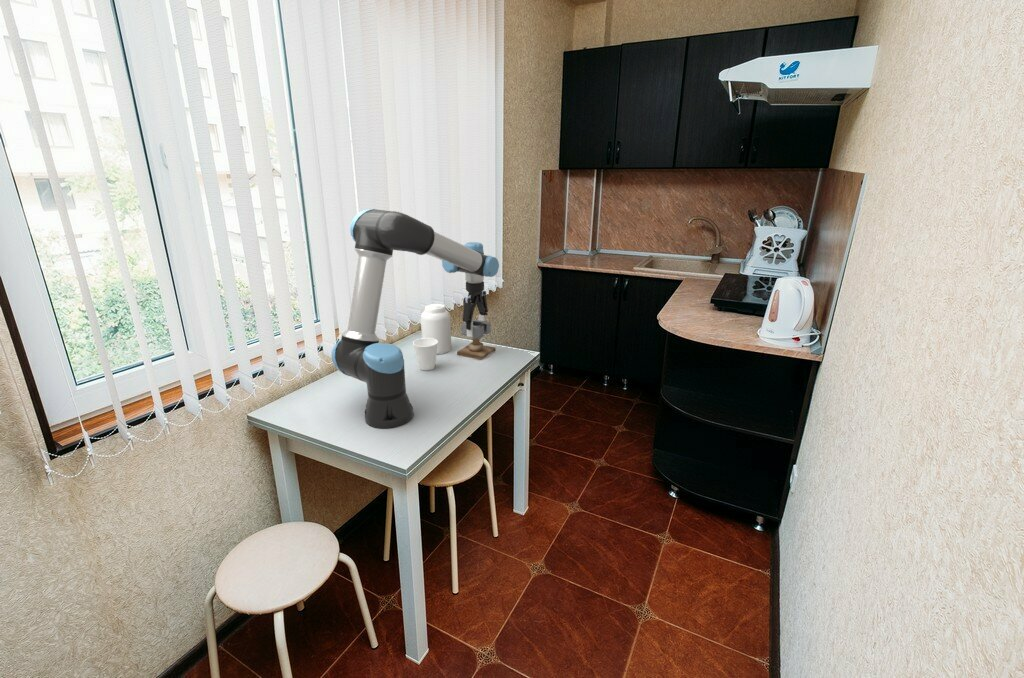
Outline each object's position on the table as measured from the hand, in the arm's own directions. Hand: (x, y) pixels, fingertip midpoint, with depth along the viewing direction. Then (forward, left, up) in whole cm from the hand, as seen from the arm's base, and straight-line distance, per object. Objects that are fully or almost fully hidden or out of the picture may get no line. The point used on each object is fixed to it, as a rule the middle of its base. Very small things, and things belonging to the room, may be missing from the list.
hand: (476, 332), depth 201 cm
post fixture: (0, 0, -9) cm, 9 cm away
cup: (-23, +9, -9) cm, 26 cm away
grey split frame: (0, 0, 0) cm, 0 cm away
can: (-5, +17, -9) cm, 20 cm away
